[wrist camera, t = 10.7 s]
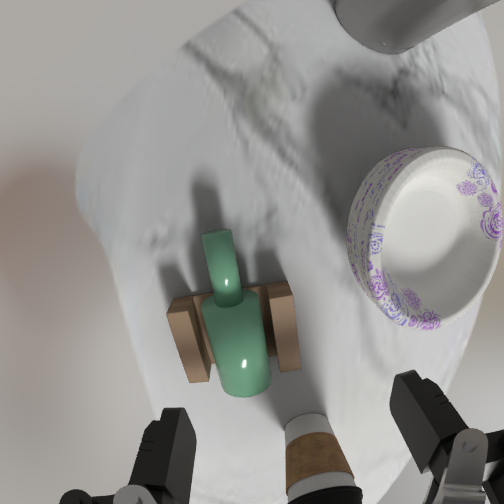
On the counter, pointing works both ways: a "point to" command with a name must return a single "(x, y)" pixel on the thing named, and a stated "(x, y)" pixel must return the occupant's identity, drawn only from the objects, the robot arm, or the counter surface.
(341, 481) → the coffee cup
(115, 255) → the counter surface
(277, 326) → the cradle
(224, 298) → the bottle
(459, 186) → the paper bowls
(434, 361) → the counter surface
